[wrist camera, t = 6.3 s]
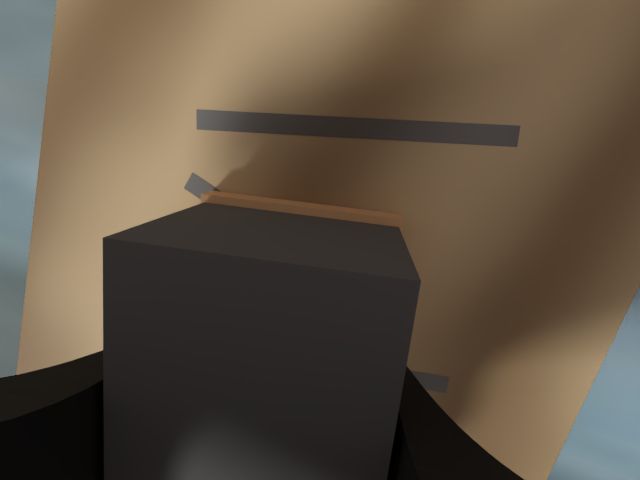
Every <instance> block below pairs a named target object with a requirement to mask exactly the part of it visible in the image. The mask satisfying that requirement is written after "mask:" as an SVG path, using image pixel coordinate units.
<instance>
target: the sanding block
mask: <svg viewBox="0 0 640 480" xmlns="http://www.w3.org/2000/svg"><path fill="white" fill-rule="evenodd" d="M403 225H404V218H403V216H402V214H396V213H388V212H380V211H372V210H364V209H356V208H348V207H340V206H332V205H324V204H316V203H308V202H300V201H292V200H284V199H276V198H268V197H260V196H252V195H244V194H236V193H228V192H220V191H209V192H205V193H202V194H201V201H200V204H198V205H195V206H192V207H189V208H187V209H184V210H181V211H178V212H175V213H172V214H169V215H166V216H164V217H161V218H158V219H155V220H152V221H149V222H146V223H143V224H141V225H138V226H135V227H132V228H129V229H126V230H123V231H121V232H118V233H115V234H112V235H109V236H106V237H103V404H104V480H387V476H388V470H389V464H390V459H391V453H392V447H393V441H394V435H395V430H396V424H397V418H398V412H399V406H400V401H401V395H402V389H403V383H404V377H405V372H406V366H407V360H408V354H409V348H410V343H411V337H412V331H413V325H414V319H415V314H416V308H417V302H418V296H419V290H420V285H421V280H420V277H419V275H418V272H417V270H416V268H415V265H414V263H413V260H412V258H411V255H410V253H409V250H408V248H407V246H406V243H405V241H404V238H403V236H402V232H403Z"/></svg>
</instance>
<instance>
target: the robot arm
mask: <svg viewBox="0 0 640 480" xmlns="http://www.w3.org/2000/svg"><path fill="white" fill-rule="evenodd" d="M0 480H104V404H103V350H102V351H99V352H96V353H93V354H90V355H87V356H84V357H81V358H78V359H75V360H72V361H69V362H65V363H62V364H58V365H55V366H51V367H47V368H43V369H39V370H35V371H31V372H27V373H23V374H18V375H14V376H8V377H3V378H0ZM387 480H524V479H523V478H521V477H520V476H519V475H517V474H516V473H515V472H513V471H512V470H510V469H509V468H508V467H506V466H505V465H503V464H502V463H501V462H500V461H498V460H497V459H496V458H494V457H493V456H492V455H491V454H489V453H488V452H487V451H486V450H485V449H484V448H482V447H481V446H480V445H479V444H478V443H477V442H475V441H474V440H473V439H472V438H471V437H470V436H469V435H468V434H466V433H465V432H464V431H463V430H462V429H461V428H460V427H459V426H458V425H457V424H456V423H455V422H454V421H453V420H452V419H451V418H450V417H449V416H448V415H447V414H446V413H445V412H444V410H443V409H442V408H441V407H440V406H439V405H438V404H437V403H436V402H435V400H434V399H433V398H432V397H431V396H430V395H429V393H428V392H427V391H426V390H425V388H424V387H423V386H422V385H421V384H420V382H419V381H418V380H417V378H416V377H415V376H414V375H413V373H412V372H411V371H410V369H409V368H408V367H407V366H406V372H405V377H404V383H403V389H402V395H401V401H400V406H399V412H398V418H397V424H396V430H395V435H394V441H393V447H392V453H391V459H390V464H389V470H388V476H387Z"/></svg>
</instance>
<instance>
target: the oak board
mask: <svg viewBox="0 0 640 480" xmlns="http://www.w3.org/2000/svg"><path fill="white" fill-rule="evenodd" d="M209 191H220V192H228V193H236V194H244V195H252V196H260V197H268V198H276V199H284V200H292V201H300V202H308V203H316V204H324V205H332V206H340V207H348V208H356V209H364V210H372V211H380V212H388V213H396V214H402V216H403V218H404V225H403V232H402V236H403V238H404V241H405V243H406V246H407V248H408V250H409V253H410V255H411V258H412V260H413V263H414V265H415V268H416V270H417V272H418V275H419V277H420V280H421V285H420V290H419V296H418V302H417V308H416V314H415V319H414V325H413V331H412V337H411V343H410V348H409V354H408V360H407V367H408V368H409V369H410V371H411V372H412V373H413V375H414V376H415V377H416V378H417V380H418V381H419V382H420V384H421V385H422V386H423V387H424V388H425V390H426V391H427V392H428V393H429V395H430V396H431V397H432V398H433V399H434V400H435V402H436V403H437V404H438V405H439V406H440V407H441V408H442V409H443V410H444V412H445V413H446V414H447V415H448V416H449V417H450V418H451V419H452V420H453V421H454V422H455V423H456V424H457V425H458V426H459V427H460V428H461V429H462V430H463V431H464V432H465V433H466V434H468V435H469V436H470V437H471V438H472V439H473V440H474V441H475V442H477V443H478V444H479V445H480V446H481V447H482V448H484V449H485V450H486V451H487V452H488V453H489V454H491V455H492V456H493V457H494V458H496V459H497V460H498V461H500V462H501V463H502V464H503V465H505V466H506V467H508V468H509V469H510V470H512V471H513V472H515V473H516V474H517V475H519V476H520V477H521V478H523V479H524V480H547V478H548V476H549V474H550V472H551V470H552V468H553V466H554V464H555V462H556V459H557V457H558V455H559V453H560V451H561V449H562V447H563V445H564V443H565V441H566V438H567V436H568V434H569V432H570V430H571V428H572V426H573V424H574V422H575V420H576V417H577V415H578V413H579V411H580V409H581V407H582V405H583V403H584V401H585V399H586V396H587V394H588V392H589V390H590V388H591V386H592V384H593V382H594V380H595V378H596V376H597V373H598V371H599V369H600V367H601V365H602V363H603V361H604V359H605V357H606V355H607V352H608V350H609V348H610V346H611V344H612V342H613V340H614V338H615V336H616V334H617V331H618V329H619V327H620V325H621V323H622V321H623V319H624V317H625V315H626V313H627V311H628V308H629V306H630V304H631V302H632V300H633V298H634V296H635V294H636V292H637V290H638V287H639V285H640V0H57V4H56V13H55V22H54V32H53V41H52V50H51V59H50V68H49V78H48V87H47V96H46V105H45V114H44V124H43V133H42V142H41V151H40V160H39V170H38V179H37V188H36V197H35V206H34V216H33V225H32V234H31V243H30V252H29V262H28V271H27V280H26V289H25V298H24V308H23V317H22V326H21V335H20V344H19V353H18V363H17V372H16V375H18V374H23V373H27V372H31V371H35V370H39V369H43V368H47V367H51V366H55V365H58V364H62V363H65V362H69V361H72V360H75V359H78V358H81V357H84V356H87V355H90V354H93V353H96V352H99V351H102V350H103V237H106V236H109V235H112V234H115V233H118V232H121V231H123V230H126V229H129V228H132V227H135V226H138V225H141V224H143V223H146V222H149V221H152V220H155V219H158V218H161V217H164V216H166V215H169V214H172V213H175V212H178V211H181V210H184V209H187V208H189V207H192V206H195V205H198V204H200V201H201V194H202V193H205V192H209Z"/></svg>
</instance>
